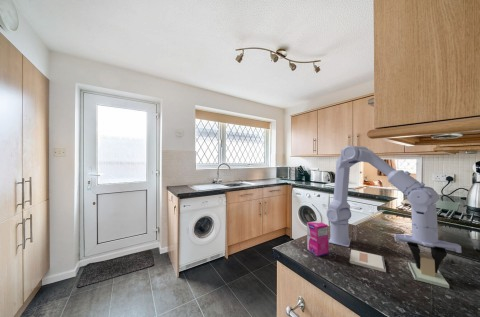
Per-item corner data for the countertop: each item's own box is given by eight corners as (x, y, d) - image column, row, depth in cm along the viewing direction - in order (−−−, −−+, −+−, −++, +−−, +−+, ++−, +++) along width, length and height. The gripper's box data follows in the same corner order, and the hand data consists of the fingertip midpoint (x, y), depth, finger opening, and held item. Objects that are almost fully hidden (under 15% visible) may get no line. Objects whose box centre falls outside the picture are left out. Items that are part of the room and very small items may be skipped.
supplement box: (306, 250, 73) (306, 222, 74) (318, 248, 75) (317, 220, 76) (317, 257, 68) (316, 226, 68) (329, 254, 70) (328, 224, 70)
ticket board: (351, 251, 72) (351, 249, 72) (383, 259, 66) (383, 256, 66) (349, 263, 64) (349, 259, 64) (386, 272, 58) (385, 268, 58)
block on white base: (408, 264, 62) (407, 247, 63) (437, 271, 58) (436, 252, 59) (414, 279, 54) (413, 259, 54) (449, 288, 50) (448, 266, 50)
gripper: (395, 224, 58) (397, 267, 57) (465, 234, 50) (468, 284, 49) (393, 219, 64) (394, 258, 63) (454, 227, 55) (457, 272, 55)
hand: (426, 269), depth 56 cm, fingers closed on block on white base, 3 cm apart
